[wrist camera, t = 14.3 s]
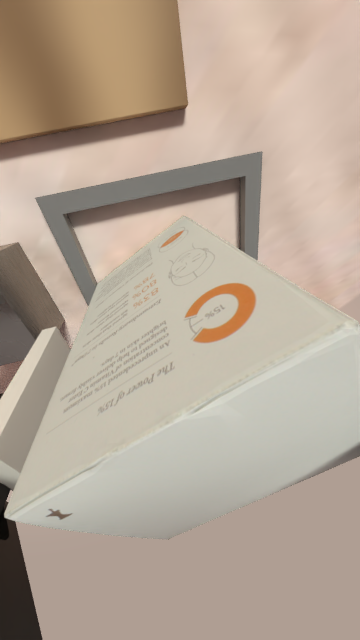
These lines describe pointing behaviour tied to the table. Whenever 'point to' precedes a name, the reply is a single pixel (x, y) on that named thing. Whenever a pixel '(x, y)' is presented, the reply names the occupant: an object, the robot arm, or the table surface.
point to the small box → (191, 394)
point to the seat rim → (150, 185)
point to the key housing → (22, 305)
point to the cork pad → (87, 63)
